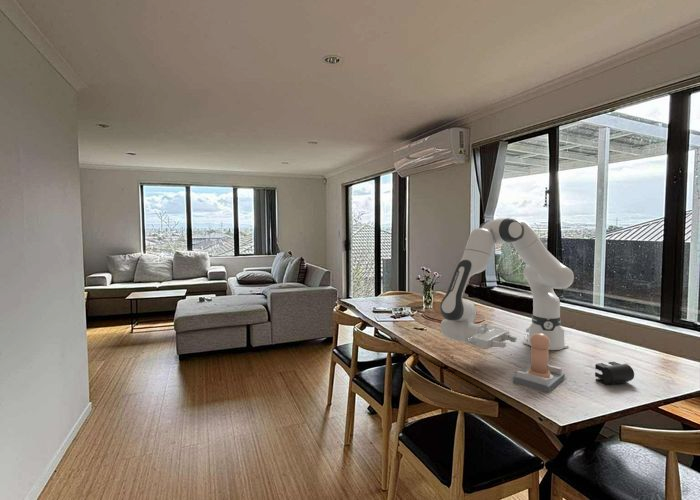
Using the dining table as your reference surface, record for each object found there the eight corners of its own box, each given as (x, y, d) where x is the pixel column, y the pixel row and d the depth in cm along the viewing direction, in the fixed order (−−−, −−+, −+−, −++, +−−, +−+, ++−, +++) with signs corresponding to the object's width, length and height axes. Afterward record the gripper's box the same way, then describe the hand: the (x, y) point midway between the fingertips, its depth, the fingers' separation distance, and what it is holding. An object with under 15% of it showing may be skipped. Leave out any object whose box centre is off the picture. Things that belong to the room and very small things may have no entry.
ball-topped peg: (527, 369, 140) (528, 329, 139) (548, 372, 137) (549, 331, 136) (529, 377, 133) (530, 335, 132) (551, 379, 131) (552, 336, 130)
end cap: (611, 388, 128) (612, 369, 128) (593, 380, 135) (594, 362, 135) (634, 385, 131) (635, 366, 130) (615, 377, 137) (616, 359, 137)
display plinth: (530, 369, 145) (530, 359, 145) (564, 378, 136) (564, 368, 136) (513, 382, 134) (513, 371, 134) (548, 392, 125) (549, 381, 125)
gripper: (464, 332, 145) (498, 340, 135) (488, 322, 159) (521, 329, 149) (463, 348, 145) (498, 357, 135) (488, 337, 159) (521, 344, 149)
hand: (510, 342), depth 142 cm, fingers open, 8 cm apart
